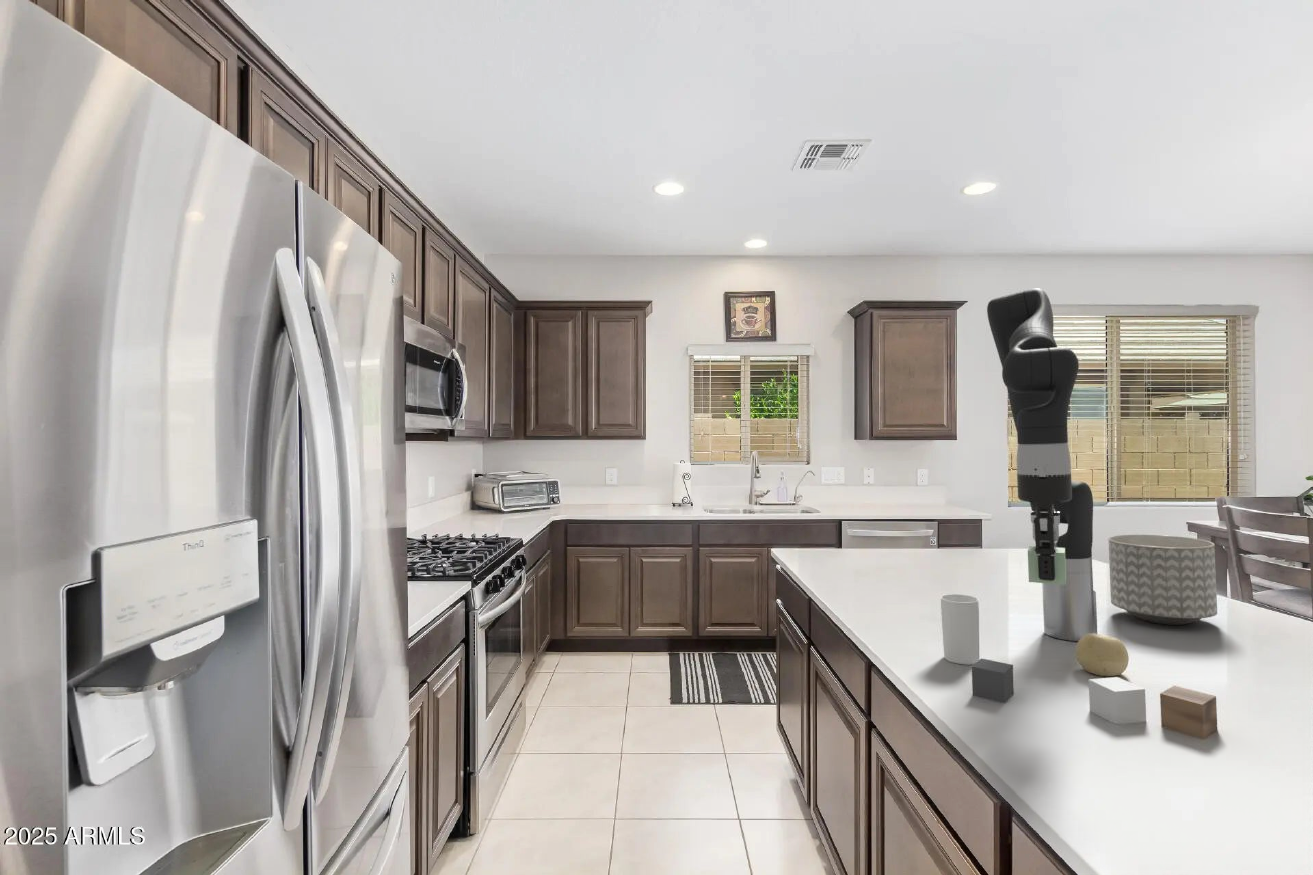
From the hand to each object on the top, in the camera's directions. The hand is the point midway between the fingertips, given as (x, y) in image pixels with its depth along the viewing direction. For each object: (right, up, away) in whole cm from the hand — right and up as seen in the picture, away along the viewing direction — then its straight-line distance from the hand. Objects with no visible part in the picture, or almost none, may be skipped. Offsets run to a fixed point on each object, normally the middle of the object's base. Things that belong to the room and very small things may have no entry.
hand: (1047, 575), depth 103 cm
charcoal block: (-6, -21, +5) cm, 23 cm away
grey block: (+8, -21, -5) cm, 23 cm away
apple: (+18, -21, +12) cm, 30 cm away
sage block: (0, -1, 0) cm, 1 cm away
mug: (-2, -21, +23) cm, 31 cm away
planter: (+52, -19, +42) cm, 70 cm away
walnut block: (+15, -20, -10) cm, 27 cm away
